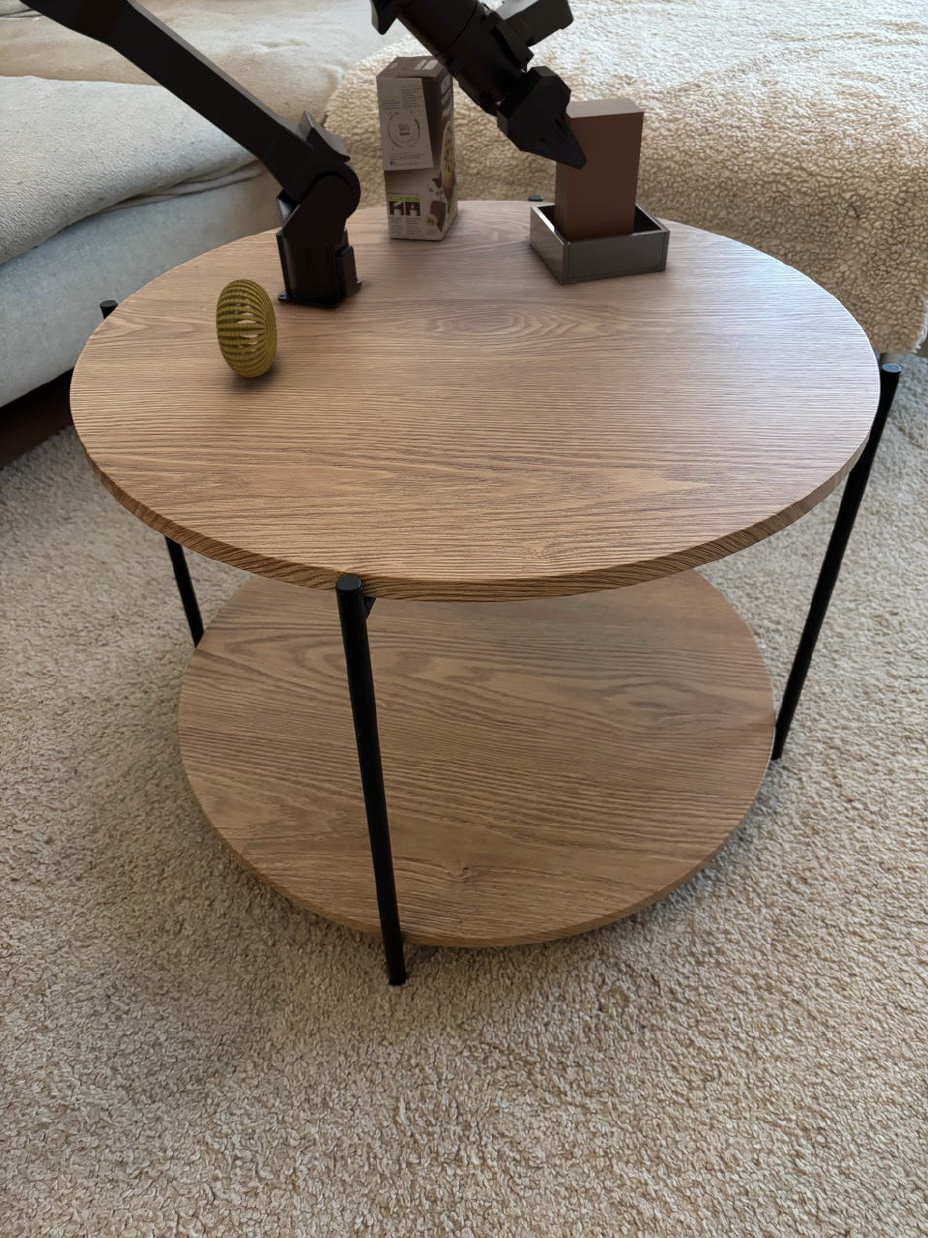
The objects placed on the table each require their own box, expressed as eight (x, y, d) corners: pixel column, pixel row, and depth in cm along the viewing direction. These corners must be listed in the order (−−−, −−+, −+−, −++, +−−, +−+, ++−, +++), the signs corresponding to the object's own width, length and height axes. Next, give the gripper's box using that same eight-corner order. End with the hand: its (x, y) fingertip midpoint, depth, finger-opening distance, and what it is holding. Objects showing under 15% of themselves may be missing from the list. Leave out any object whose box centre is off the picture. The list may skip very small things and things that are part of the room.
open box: (561, 284, 91) (563, 244, 88) (529, 243, 99) (530, 205, 96) (665, 270, 93) (670, 230, 90) (625, 230, 101) (629, 193, 98)
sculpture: (243, 350, 83) (224, 263, 78) (286, 349, 83) (270, 262, 77) (224, 394, 77) (202, 305, 72) (270, 393, 77) (252, 303, 72)
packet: (564, 267, 93) (570, 117, 83) (552, 249, 96) (558, 102, 87) (630, 261, 93) (644, 111, 84) (616, 242, 97) (628, 96, 87)
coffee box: (443, 241, 100) (435, 76, 89) (387, 239, 101) (372, 75, 90) (460, 211, 106) (454, 53, 95) (407, 209, 108) (395, 52, 96)
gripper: (552, -43, 69) (668, 104, 78) (488, -74, 82) (594, 55, 91) (455, 83, 73) (576, 209, 82) (409, 35, 86) (518, 148, 96)
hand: (567, 150), depth 88 cm, fingers open, 9 cm apart
